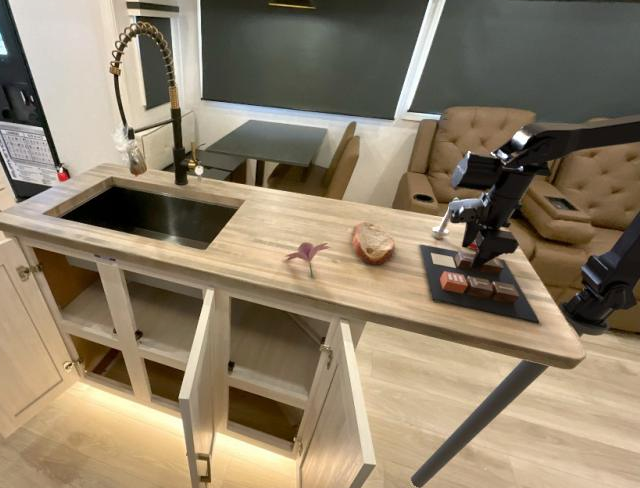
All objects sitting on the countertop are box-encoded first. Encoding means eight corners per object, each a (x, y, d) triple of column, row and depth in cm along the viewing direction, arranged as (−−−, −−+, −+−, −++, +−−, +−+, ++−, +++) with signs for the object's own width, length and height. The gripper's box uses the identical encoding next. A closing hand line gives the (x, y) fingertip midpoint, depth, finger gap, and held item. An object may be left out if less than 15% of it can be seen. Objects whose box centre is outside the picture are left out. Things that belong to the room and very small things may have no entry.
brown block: (471, 262, 89) (476, 254, 88) (475, 271, 86) (480, 263, 84) (454, 258, 90) (458, 250, 89) (457, 267, 87) (462, 259, 85)
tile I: (507, 292, 79) (513, 284, 78) (513, 304, 76) (520, 296, 74) (487, 288, 80) (493, 280, 79) (492, 299, 77) (498, 291, 75)
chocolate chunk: (494, 266, 88) (499, 258, 87) (498, 275, 85) (504, 267, 83) (475, 262, 89) (480, 254, 88) (479, 271, 86) (485, 263, 84)
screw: (449, 240, 99) (434, 240, 99) (440, 232, 103) (426, 232, 102) (470, 201, 91) (454, 201, 90) (460, 194, 95) (444, 194, 94)
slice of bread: (364, 224, 105) (367, 213, 103) (413, 250, 94) (418, 239, 91) (324, 237, 97) (327, 226, 95) (372, 268, 86) (376, 256, 83)
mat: (503, 261, 91) (504, 259, 91) (538, 323, 72) (540, 321, 71) (420, 245, 96) (421, 244, 96) (432, 300, 77) (433, 298, 76)
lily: (332, 267, 87) (327, 232, 85) (336, 277, 76) (330, 237, 74) (288, 274, 90) (282, 240, 88) (285, 285, 79) (279, 247, 77)
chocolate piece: (483, 287, 80) (488, 279, 79) (487, 298, 77) (493, 290, 75) (463, 283, 81) (468, 275, 80) (467, 294, 78) (472, 286, 76)
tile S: (458, 282, 82) (463, 274, 80) (462, 293, 78) (467, 285, 77) (439, 278, 83) (444, 270, 81) (442, 289, 79) (447, 281, 78)
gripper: (453, 172, 74) (426, 231, 84) (472, 205, 60) (436, 272, 70) (508, 179, 71) (473, 240, 81) (541, 215, 57) (494, 283, 67)
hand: (468, 257), depth 75 cm, fingers open, 9 cm apart
